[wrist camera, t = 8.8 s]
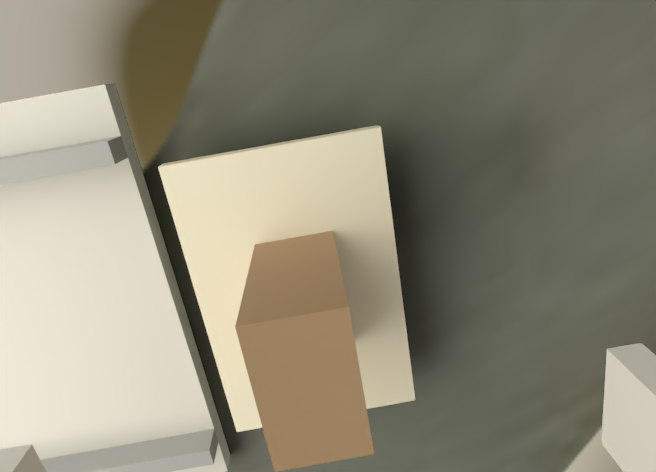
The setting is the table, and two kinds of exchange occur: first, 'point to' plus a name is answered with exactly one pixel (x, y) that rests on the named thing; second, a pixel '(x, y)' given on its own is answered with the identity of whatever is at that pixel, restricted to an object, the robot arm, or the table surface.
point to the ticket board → (92, 300)
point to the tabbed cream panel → (298, 288)
